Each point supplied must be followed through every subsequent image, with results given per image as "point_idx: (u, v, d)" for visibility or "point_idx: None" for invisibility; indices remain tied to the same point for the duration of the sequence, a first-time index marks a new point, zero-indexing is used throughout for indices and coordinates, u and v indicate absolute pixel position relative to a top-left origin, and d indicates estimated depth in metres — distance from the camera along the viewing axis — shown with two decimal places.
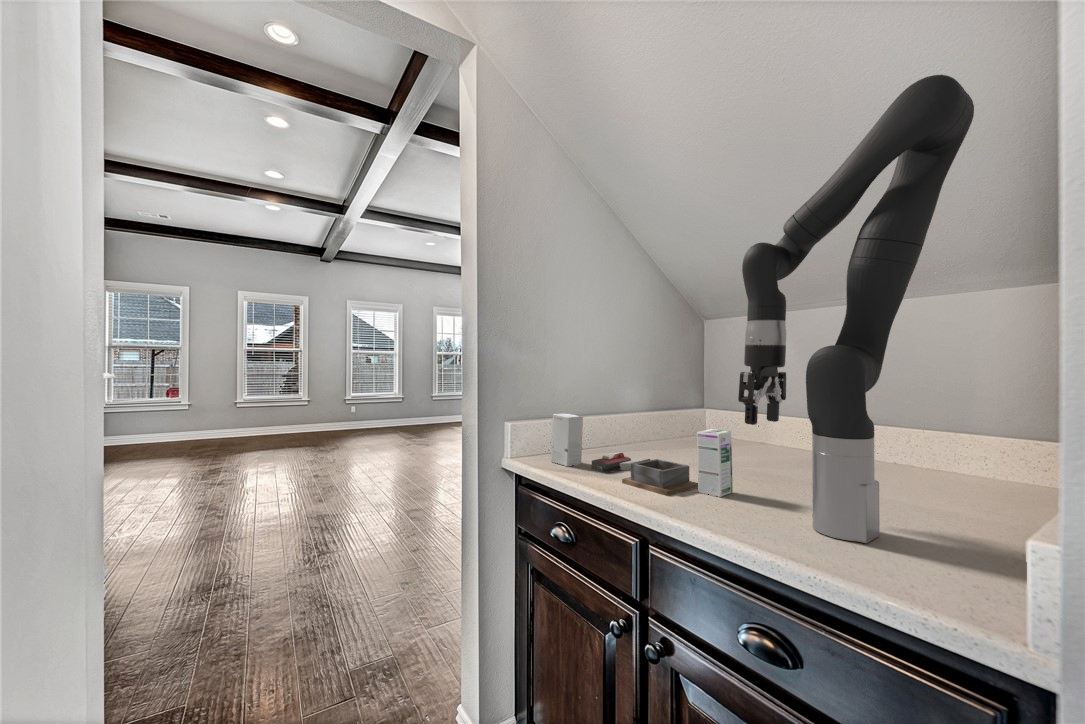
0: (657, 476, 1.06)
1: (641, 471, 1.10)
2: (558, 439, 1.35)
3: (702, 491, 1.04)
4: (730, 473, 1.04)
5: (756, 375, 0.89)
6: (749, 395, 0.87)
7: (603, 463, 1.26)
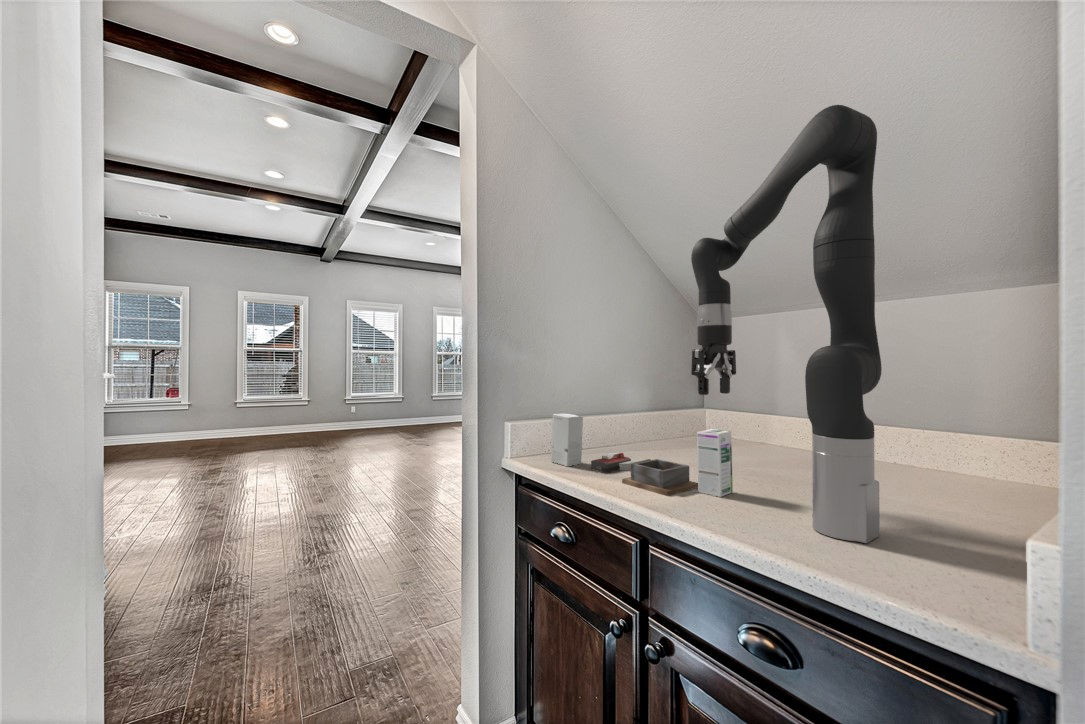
0: (657, 476, 1.06)
1: (641, 471, 1.10)
2: (558, 439, 1.35)
3: (702, 491, 1.04)
4: (730, 473, 1.04)
5: (706, 351, 1.02)
6: (700, 368, 1.00)
7: (602, 463, 1.26)
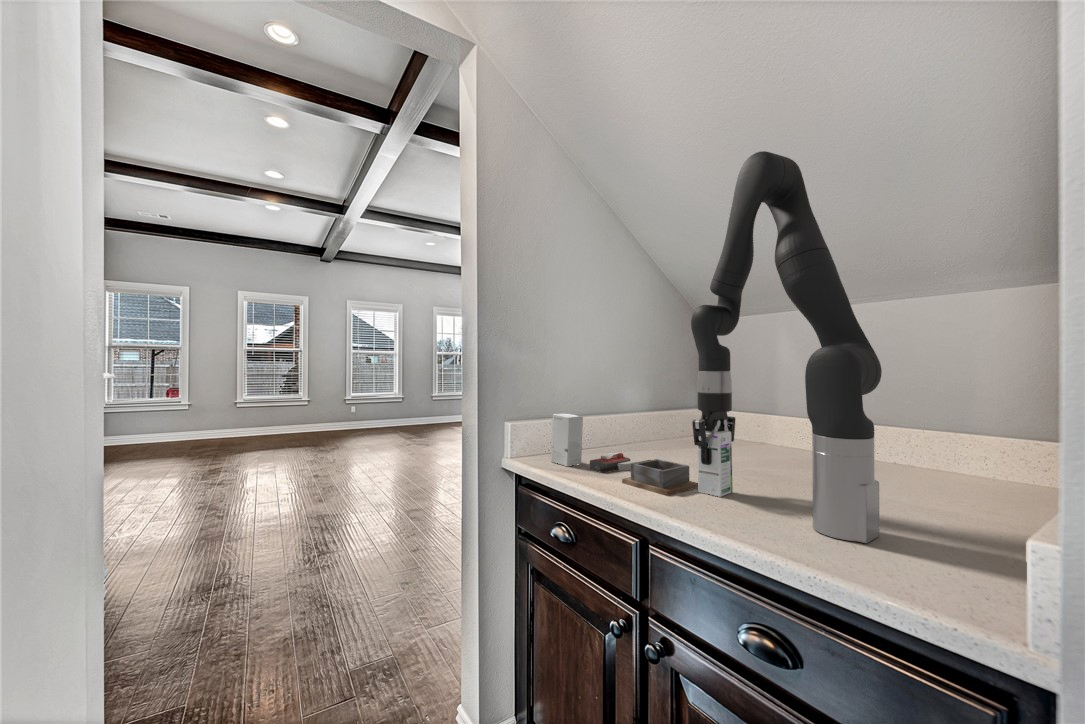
0: (657, 476, 1.06)
1: (641, 471, 1.10)
2: (558, 439, 1.35)
3: (702, 491, 1.04)
4: (730, 473, 1.04)
5: (706, 420, 1.02)
6: (702, 440, 1.01)
7: (600, 463, 1.26)
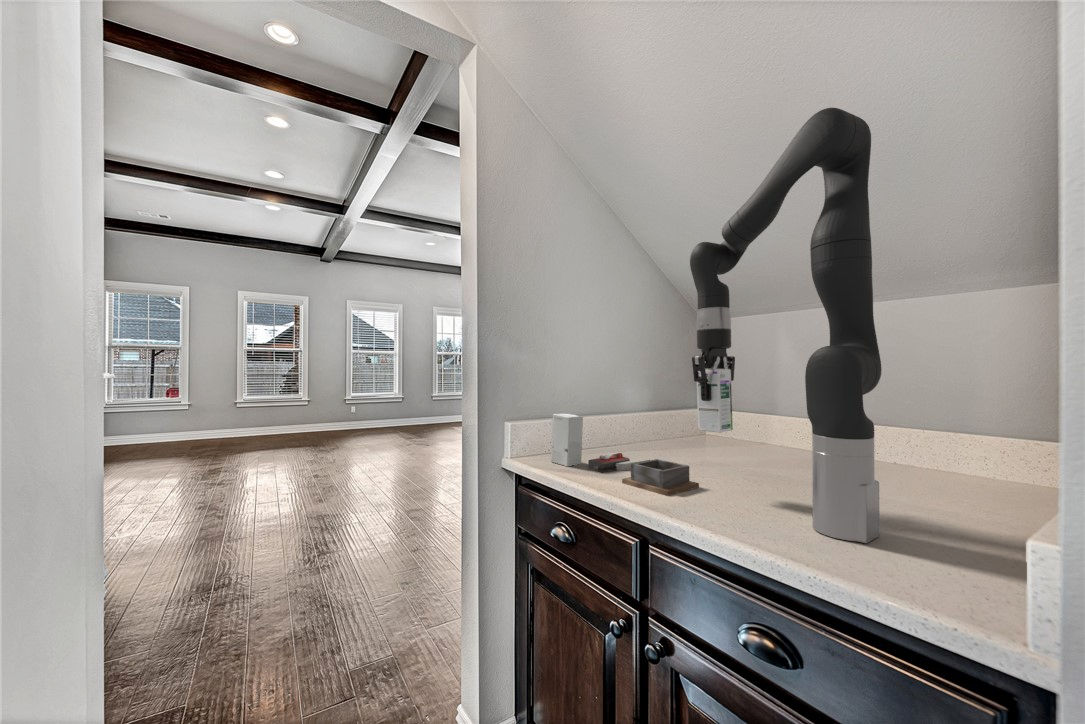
0: (657, 476, 1.06)
1: (641, 471, 1.10)
2: (558, 439, 1.35)
3: (702, 428, 1.04)
4: (730, 410, 1.04)
5: (706, 356, 1.02)
6: (702, 375, 1.01)
7: (598, 463, 1.26)
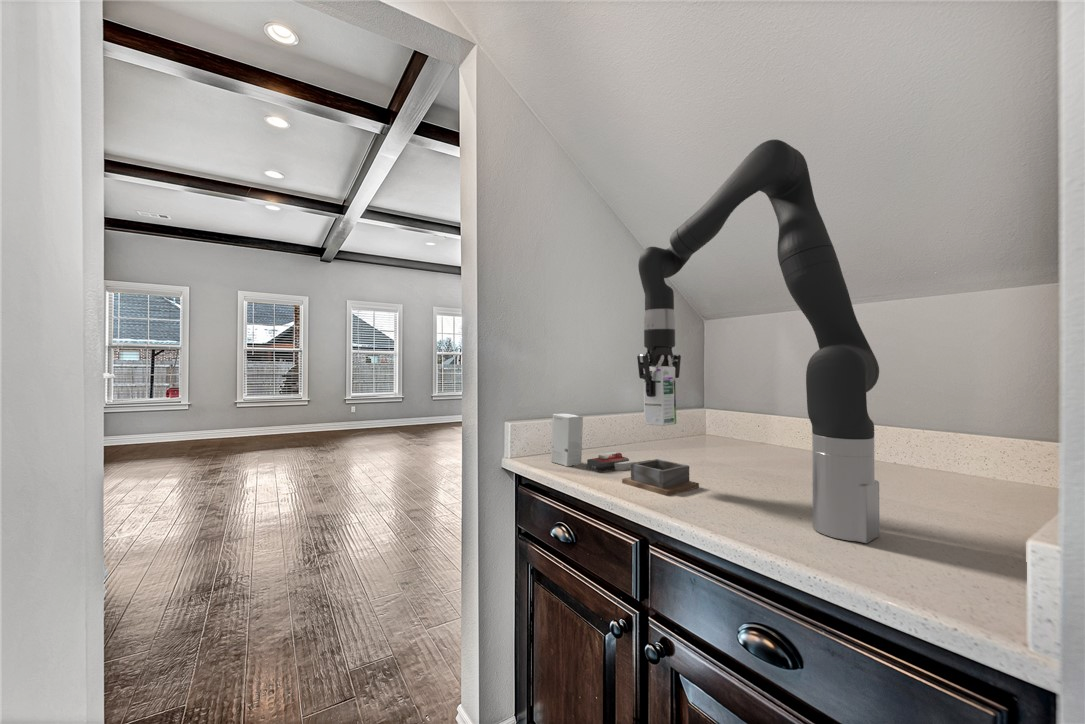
0: (657, 476, 1.06)
1: (641, 471, 1.10)
2: (558, 439, 1.35)
3: (647, 422, 1.11)
4: (673, 405, 1.11)
5: (650, 355, 1.09)
6: (646, 372, 1.07)
7: (596, 462, 1.27)
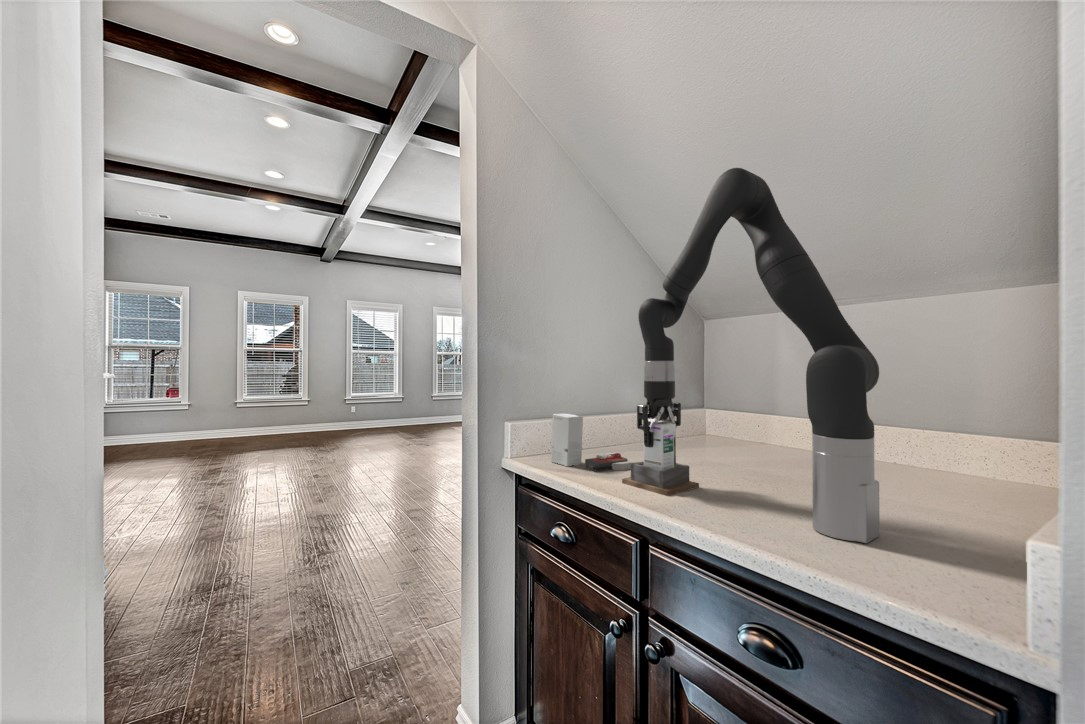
0: (657, 476, 1.06)
1: (641, 471, 1.10)
2: (558, 439, 1.35)
3: None
4: (673, 462, 1.11)
5: (650, 406, 1.09)
6: (644, 424, 1.07)
7: (593, 462, 1.27)
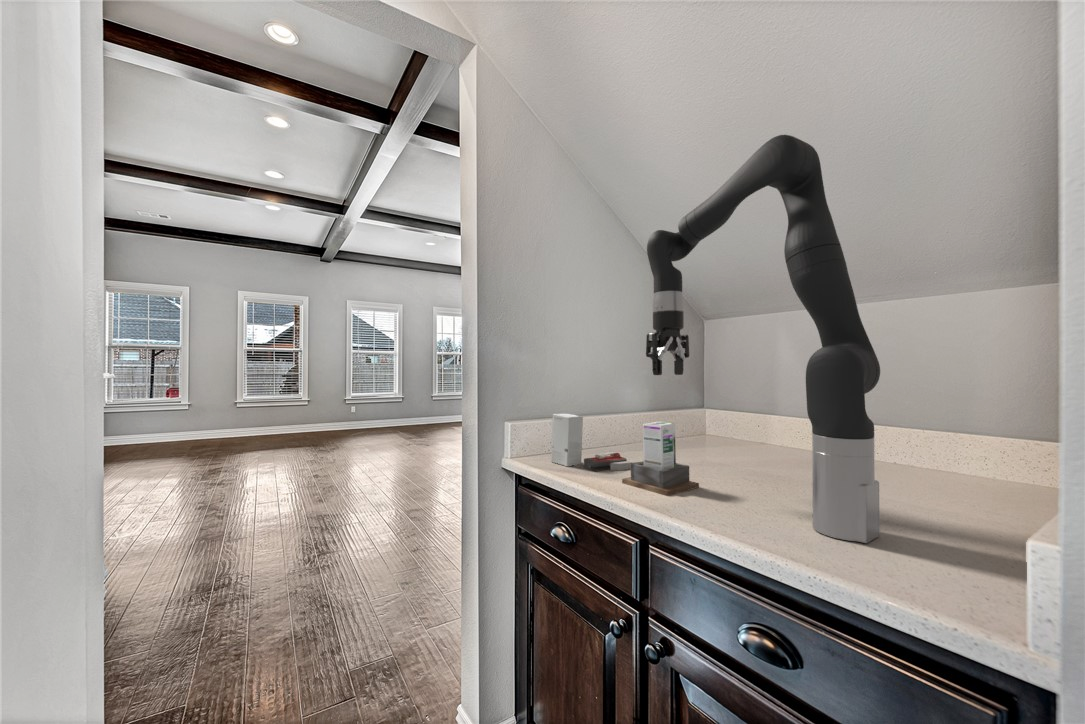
0: (657, 476, 1.06)
1: (641, 471, 1.10)
2: (558, 439, 1.35)
3: None
4: (673, 463, 1.11)
5: (659, 335, 1.11)
6: (653, 350, 1.09)
7: (591, 462, 1.28)
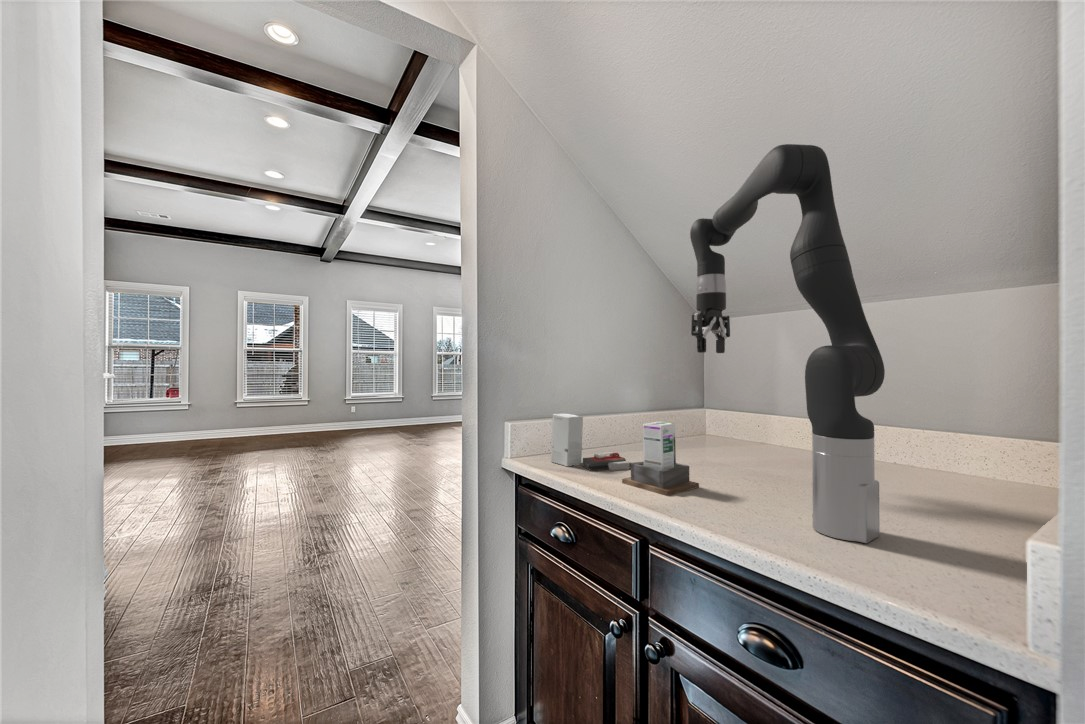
0: (657, 476, 1.06)
1: (641, 471, 1.10)
2: (558, 439, 1.35)
3: None
4: (673, 463, 1.11)
5: (704, 315, 1.19)
6: (698, 329, 1.17)
7: (590, 461, 1.28)
